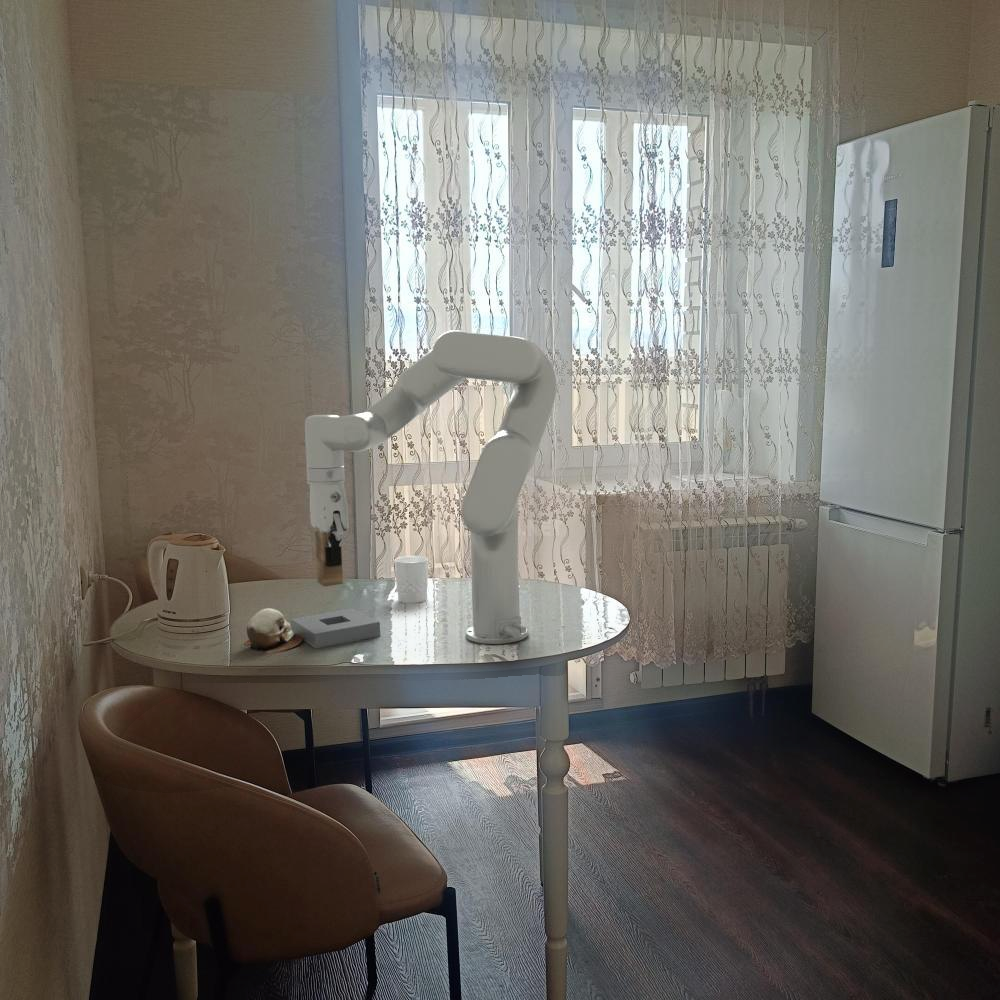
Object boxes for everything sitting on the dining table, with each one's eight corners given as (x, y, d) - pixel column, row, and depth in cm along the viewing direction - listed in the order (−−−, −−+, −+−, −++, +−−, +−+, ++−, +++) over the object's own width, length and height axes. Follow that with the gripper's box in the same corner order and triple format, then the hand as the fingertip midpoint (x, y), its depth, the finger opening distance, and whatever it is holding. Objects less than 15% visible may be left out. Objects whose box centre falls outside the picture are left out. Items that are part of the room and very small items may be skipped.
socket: (380, 636, 187) (379, 621, 187) (315, 648, 180) (314, 633, 179) (353, 621, 199) (352, 608, 198) (291, 632, 192) (290, 618, 191)
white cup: (407, 595, 222) (405, 554, 220) (435, 597, 218) (433, 556, 217) (389, 602, 215) (387, 561, 213) (418, 605, 211) (416, 563, 210)
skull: (272, 627, 193) (293, 596, 188) (298, 665, 189) (319, 634, 184) (225, 640, 183) (245, 607, 178) (251, 680, 179) (272, 648, 174)
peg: (342, 583, 187) (340, 526, 186) (324, 586, 185) (321, 528, 183) (335, 580, 191) (333, 523, 189) (317, 582, 189) (314, 525, 187)
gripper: (359, 478, 180) (362, 568, 182) (328, 471, 194) (331, 555, 196) (323, 480, 176) (327, 573, 178) (294, 473, 190) (298, 559, 192)
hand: (329, 562), depth 187 cm, fingers closed on peg, 4 cm apart
